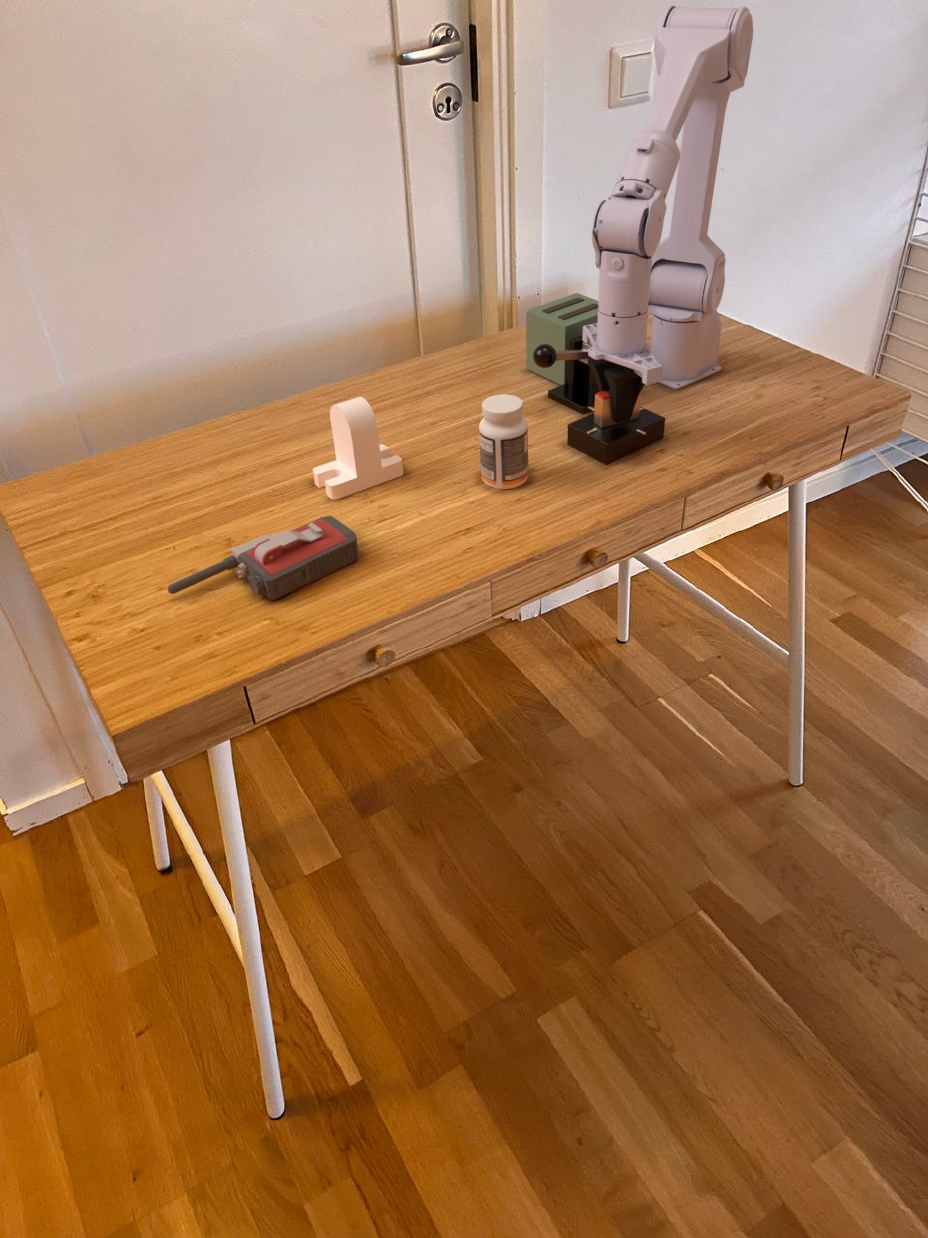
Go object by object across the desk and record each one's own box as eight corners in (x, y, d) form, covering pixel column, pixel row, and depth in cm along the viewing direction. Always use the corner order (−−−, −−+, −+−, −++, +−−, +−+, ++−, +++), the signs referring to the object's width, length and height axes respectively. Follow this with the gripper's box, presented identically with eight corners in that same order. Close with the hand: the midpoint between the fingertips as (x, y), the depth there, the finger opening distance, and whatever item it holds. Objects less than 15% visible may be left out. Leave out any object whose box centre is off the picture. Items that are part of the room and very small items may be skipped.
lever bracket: (583, 415, 127) (584, 359, 122) (547, 398, 131) (548, 343, 126) (636, 392, 131) (640, 337, 126) (600, 376, 136) (603, 322, 131)
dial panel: (616, 416, 126) (617, 394, 124) (671, 443, 120) (674, 420, 118) (559, 441, 121) (560, 419, 119) (614, 470, 115) (615, 447, 113)
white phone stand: (405, 474, 117) (397, 398, 111) (333, 500, 113) (321, 423, 107) (383, 457, 120) (375, 383, 114) (313, 482, 116) (300, 406, 110)
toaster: (575, 352, 142) (576, 291, 137) (613, 369, 137) (616, 306, 131) (526, 371, 138) (526, 308, 132) (564, 389, 133) (565, 325, 127)
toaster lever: (541, 371, 121) (546, 347, 119) (526, 364, 123) (530, 340, 121) (606, 367, 128) (611, 345, 126) (590, 361, 130) (595, 338, 128)
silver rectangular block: (631, 412, 120) (633, 382, 118) (639, 418, 119) (641, 387, 116) (593, 422, 118) (594, 392, 116) (601, 428, 117) (602, 398, 115)
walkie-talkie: (327, 523, 109) (166, 596, 100) (322, 489, 106) (155, 561, 97) (372, 555, 104) (206, 636, 94) (367, 521, 101) (196, 600, 91)
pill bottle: (529, 467, 117) (529, 391, 111) (527, 491, 112) (526, 414, 106) (483, 466, 117) (480, 391, 111) (478, 491, 113) (475, 414, 107)
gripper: (561, 294, 114) (559, 400, 122) (626, 337, 103) (619, 449, 112) (613, 283, 116) (607, 388, 124) (681, 324, 105) (671, 434, 114)
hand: (616, 416), depth 118 cm, fingers closed on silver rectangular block, 2 cm apart
